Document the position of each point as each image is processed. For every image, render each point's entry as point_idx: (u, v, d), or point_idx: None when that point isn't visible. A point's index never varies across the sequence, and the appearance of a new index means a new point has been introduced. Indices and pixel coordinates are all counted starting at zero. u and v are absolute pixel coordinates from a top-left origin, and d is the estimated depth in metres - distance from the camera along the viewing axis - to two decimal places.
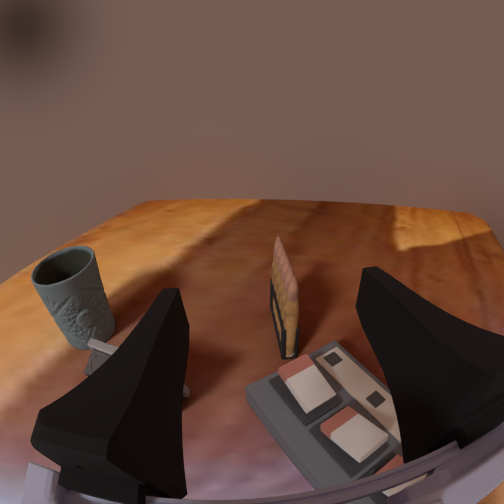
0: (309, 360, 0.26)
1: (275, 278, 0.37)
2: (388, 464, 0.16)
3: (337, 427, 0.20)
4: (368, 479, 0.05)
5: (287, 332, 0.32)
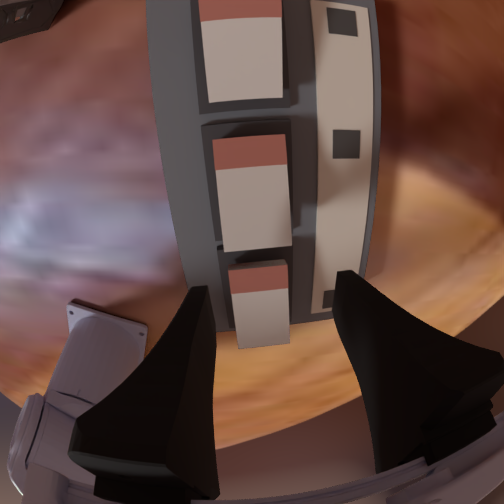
0: (276, 5, 0.08)
1: None
2: (263, 269, 0.16)
3: (233, 166, 0.12)
4: (368, 479, 0.05)
5: None
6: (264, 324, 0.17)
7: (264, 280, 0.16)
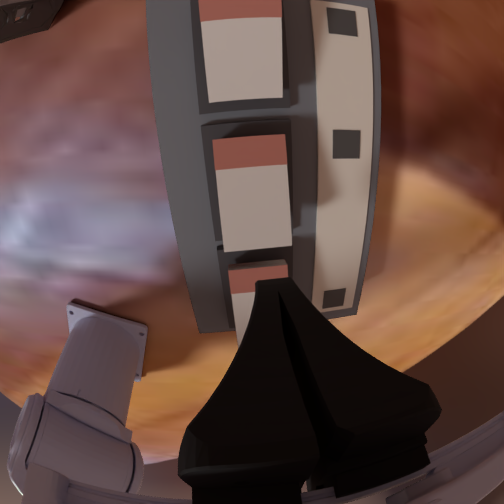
0: (276, 5, 0.08)
1: None
2: (263, 269, 0.16)
3: (233, 166, 0.12)
4: (368, 479, 0.05)
5: None
6: None
7: None
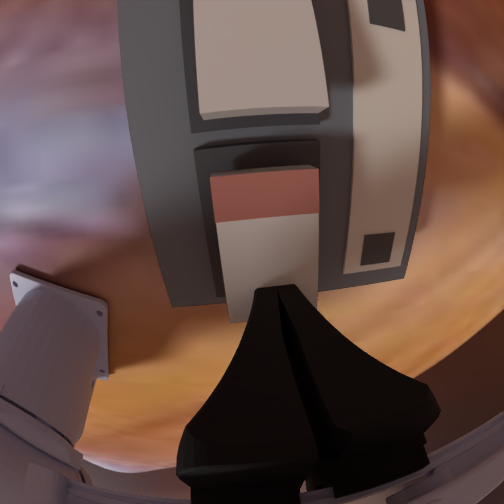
0: None
1: None
2: (274, 176, 0.08)
3: None
4: (368, 479, 0.05)
5: None
6: (274, 280, 0.10)
7: (277, 196, 0.09)
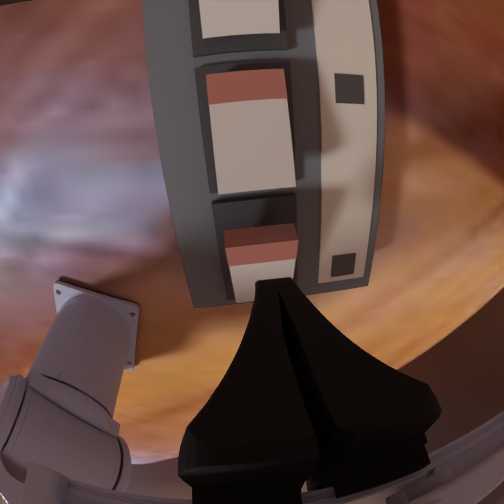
0: None
1: None
2: (268, 245, 0.13)
3: (228, 100, 0.11)
4: (368, 479, 0.05)
5: None
6: None
7: (269, 254, 0.13)
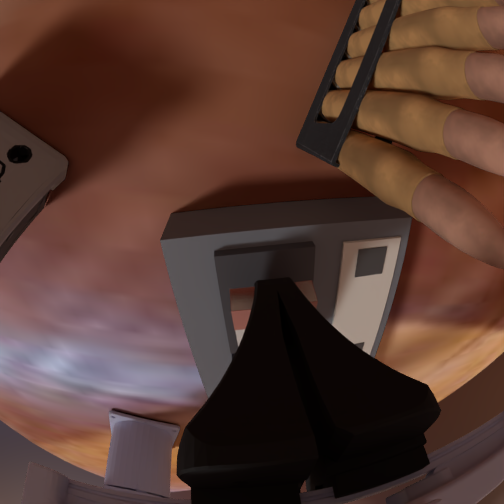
0: None
1: None
2: None
3: None
4: (368, 479, 0.05)
5: (338, 166, 0.10)
6: None
7: None
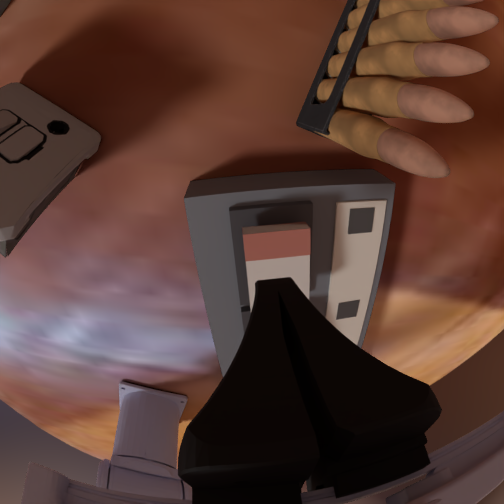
0: (306, 244, 0.14)
1: None
2: None
3: None
4: (368, 479, 0.05)
5: (329, 135, 0.12)
6: None
7: None
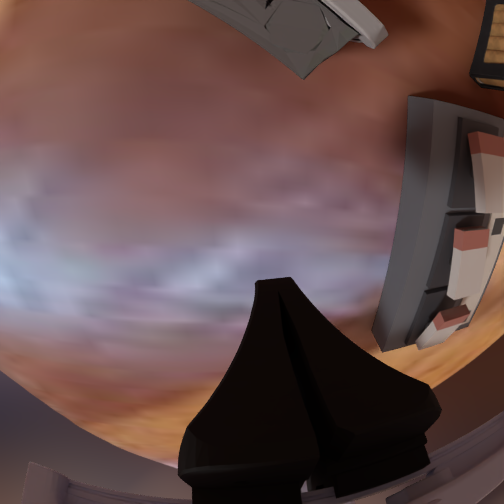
0: (503, 149, 0.13)
1: None
2: (459, 318, 0.18)
3: (468, 248, 0.16)
4: (368, 479, 0.05)
5: None
6: (439, 338, 0.21)
7: (456, 322, 0.19)
